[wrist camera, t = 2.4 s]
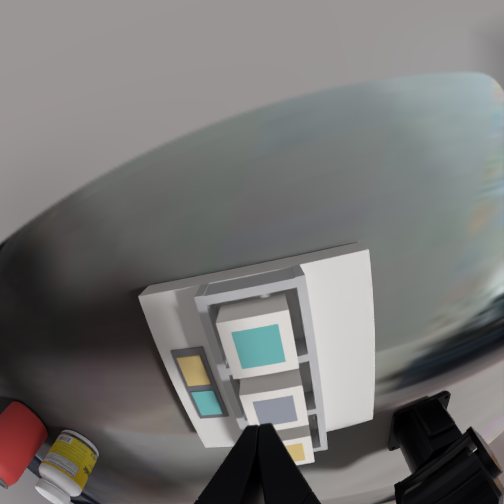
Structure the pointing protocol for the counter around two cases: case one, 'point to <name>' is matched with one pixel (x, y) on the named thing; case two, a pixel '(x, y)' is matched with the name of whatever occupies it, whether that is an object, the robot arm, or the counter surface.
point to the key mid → (274, 399)
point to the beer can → (18, 441)
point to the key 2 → (298, 444)
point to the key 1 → (257, 337)
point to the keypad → (304, 330)
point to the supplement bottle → (66, 467)
